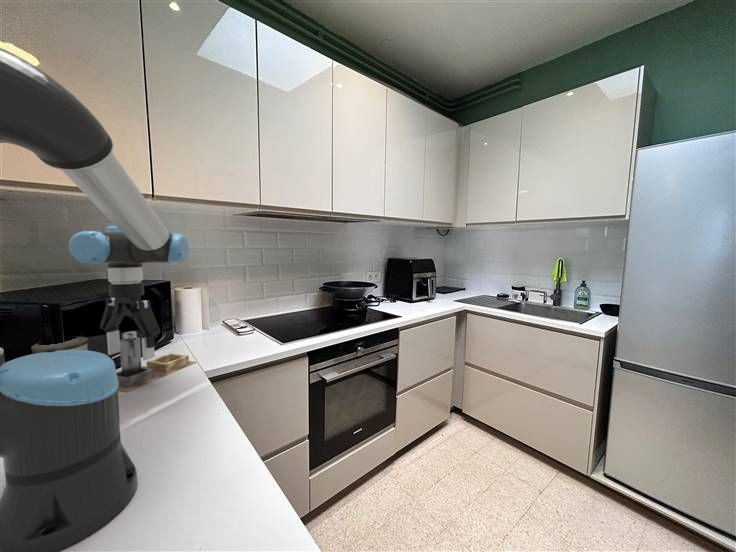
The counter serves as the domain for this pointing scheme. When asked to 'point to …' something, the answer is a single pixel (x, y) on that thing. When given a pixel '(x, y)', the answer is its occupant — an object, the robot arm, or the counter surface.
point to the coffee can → (62, 346)
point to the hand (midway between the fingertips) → (131, 356)
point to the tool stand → (153, 371)
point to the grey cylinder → (130, 354)
